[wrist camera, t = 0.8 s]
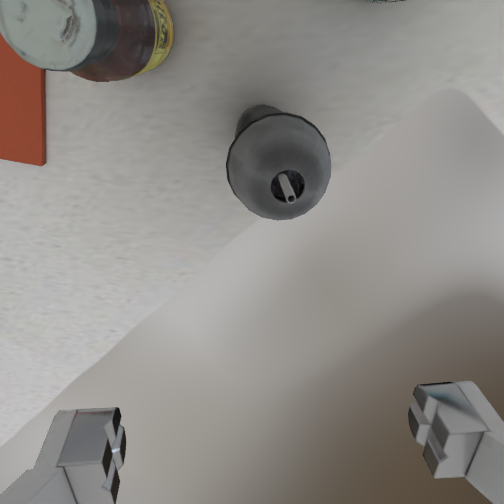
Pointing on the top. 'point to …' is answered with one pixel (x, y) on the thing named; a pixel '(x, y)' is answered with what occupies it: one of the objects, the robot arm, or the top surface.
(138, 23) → the sauce bottle
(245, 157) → the beverage cup
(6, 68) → the condiment mat
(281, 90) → the top surface
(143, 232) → the top surface
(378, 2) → the beverage bottle
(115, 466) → the robot arm
